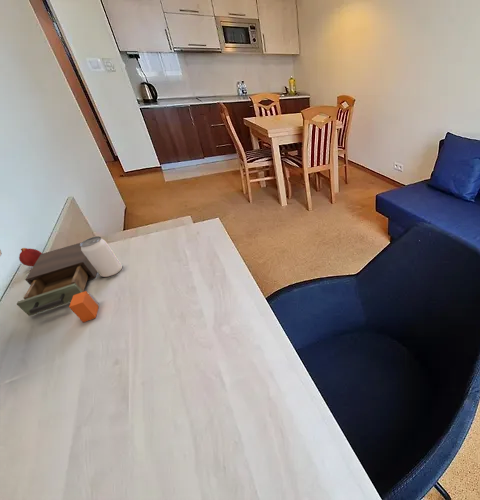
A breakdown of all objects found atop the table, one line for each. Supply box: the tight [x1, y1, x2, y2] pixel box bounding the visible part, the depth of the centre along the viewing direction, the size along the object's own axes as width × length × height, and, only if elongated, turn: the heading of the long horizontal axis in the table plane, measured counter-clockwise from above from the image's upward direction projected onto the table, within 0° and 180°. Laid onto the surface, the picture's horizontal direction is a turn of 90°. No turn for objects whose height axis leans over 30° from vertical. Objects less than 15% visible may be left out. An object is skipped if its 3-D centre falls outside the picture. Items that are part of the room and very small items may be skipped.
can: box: [80, 236, 123, 278], centre depth 96 cm, size 6×6×12 cm
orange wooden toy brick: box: [68, 290, 100, 323], centre depth 82 cm, size 3×7×6 cm, turn 28°
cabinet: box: [25, 241, 98, 286], centre depth 99 cm, size 16×15×7 cm
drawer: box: [16, 265, 89, 317], centre depth 89 cm, size 19×13×5 cm
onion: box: [18, 247, 43, 267], centre depth 105 cm, size 6×6×8 cm
